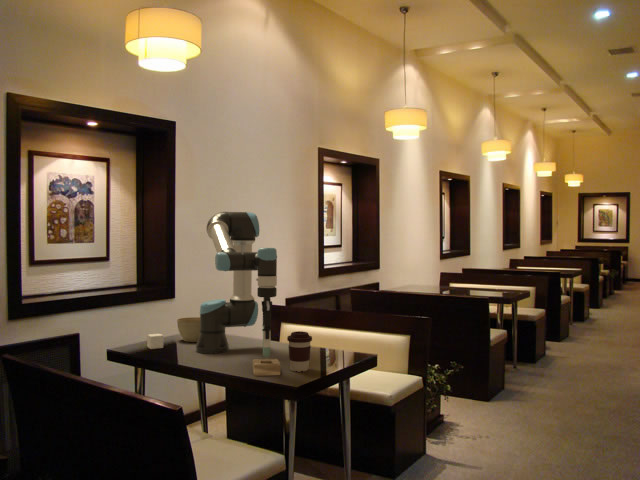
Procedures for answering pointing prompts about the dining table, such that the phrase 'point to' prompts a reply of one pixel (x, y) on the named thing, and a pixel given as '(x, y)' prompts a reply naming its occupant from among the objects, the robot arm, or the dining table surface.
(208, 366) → the dining table surface
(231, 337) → the dining table surface
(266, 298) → the robot arm
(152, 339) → the cream cube
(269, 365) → the hole block
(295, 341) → the coffee cup
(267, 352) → the peg
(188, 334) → the planter bowl
